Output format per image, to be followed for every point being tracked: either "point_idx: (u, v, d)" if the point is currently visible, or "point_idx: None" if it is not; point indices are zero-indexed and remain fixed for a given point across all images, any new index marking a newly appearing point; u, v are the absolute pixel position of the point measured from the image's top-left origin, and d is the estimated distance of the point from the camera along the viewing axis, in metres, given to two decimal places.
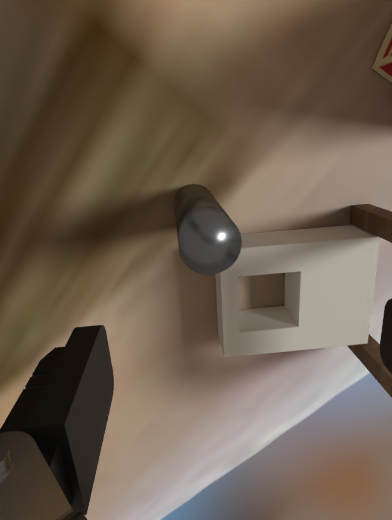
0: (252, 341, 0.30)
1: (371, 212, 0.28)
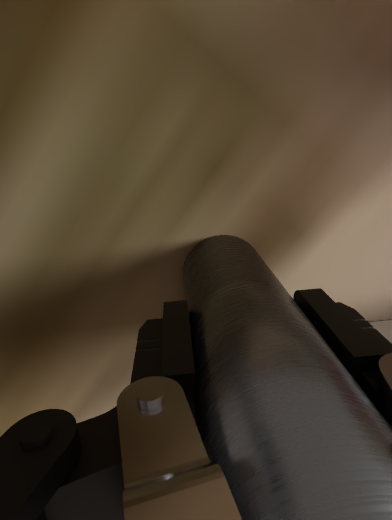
0: None
1: None
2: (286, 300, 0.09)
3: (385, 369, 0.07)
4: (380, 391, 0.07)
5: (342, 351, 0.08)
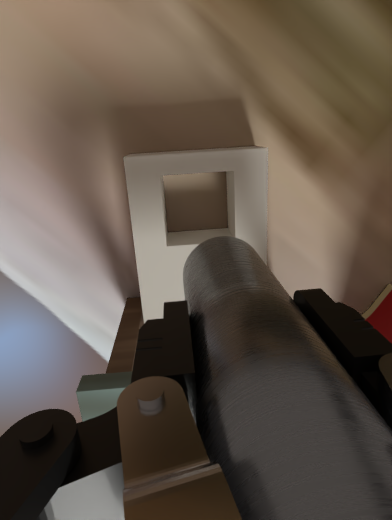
0: (146, 192, 0.25)
1: None
2: (286, 301, 0.09)
3: (385, 369, 0.07)
4: (380, 391, 0.07)
5: (342, 351, 0.08)
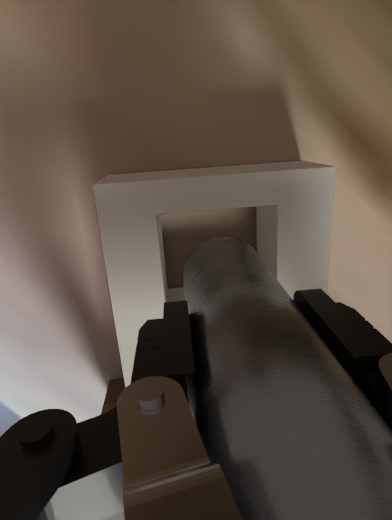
0: (133, 242, 0.15)
1: None
2: (286, 301, 0.09)
3: (385, 369, 0.07)
4: (380, 391, 0.07)
5: (342, 350, 0.08)
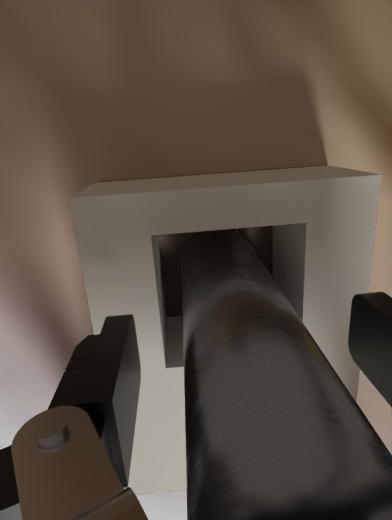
0: (122, 270, 0.12)
1: None
2: (266, 280, 0.10)
3: None
4: None
5: None
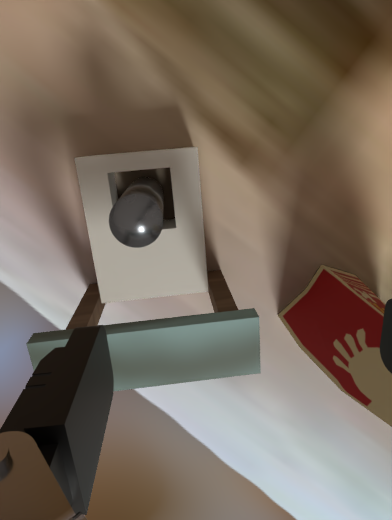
0: (96, 187, 0.29)
1: (225, 281, 0.34)
2: (150, 185, 0.28)
3: None
4: None
5: None
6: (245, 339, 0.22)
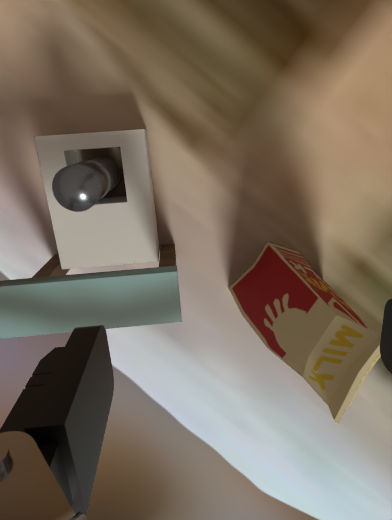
0: (54, 164, 0.33)
1: (174, 253, 0.37)
2: (100, 162, 0.31)
3: None
4: None
5: None
6: (166, 291, 0.25)
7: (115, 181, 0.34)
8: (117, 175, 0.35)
